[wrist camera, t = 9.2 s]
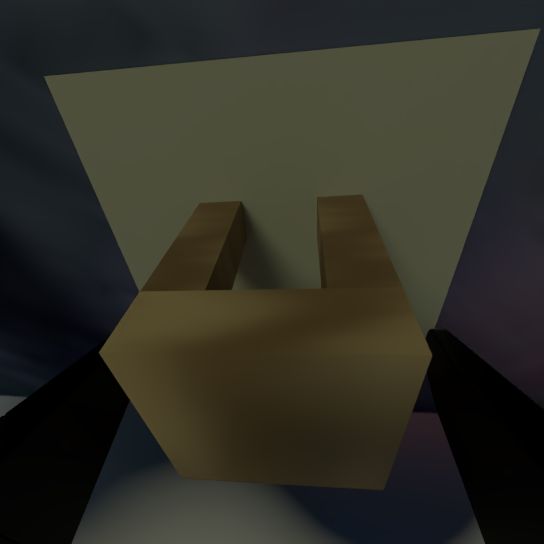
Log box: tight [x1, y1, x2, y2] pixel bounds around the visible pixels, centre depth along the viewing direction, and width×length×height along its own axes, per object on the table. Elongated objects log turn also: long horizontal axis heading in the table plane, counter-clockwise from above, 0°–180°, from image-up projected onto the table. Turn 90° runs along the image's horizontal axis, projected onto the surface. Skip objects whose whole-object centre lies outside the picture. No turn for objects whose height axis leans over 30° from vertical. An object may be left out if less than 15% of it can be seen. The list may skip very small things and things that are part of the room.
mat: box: [44, 29, 540, 338], centre depth 13 cm, size 14×14×1 cm
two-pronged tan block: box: [99, 195, 432, 490], centre depth 10 cm, size 6×6×7 cm
